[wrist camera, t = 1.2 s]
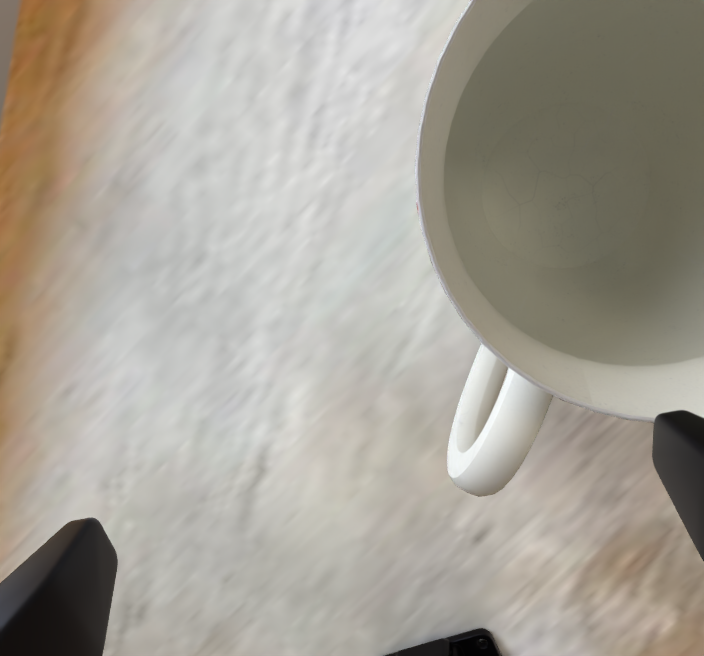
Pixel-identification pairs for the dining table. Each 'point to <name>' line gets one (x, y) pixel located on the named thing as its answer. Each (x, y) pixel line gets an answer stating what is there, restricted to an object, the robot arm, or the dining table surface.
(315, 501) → the dining table surface
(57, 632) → the robot arm
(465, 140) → the pitcher
